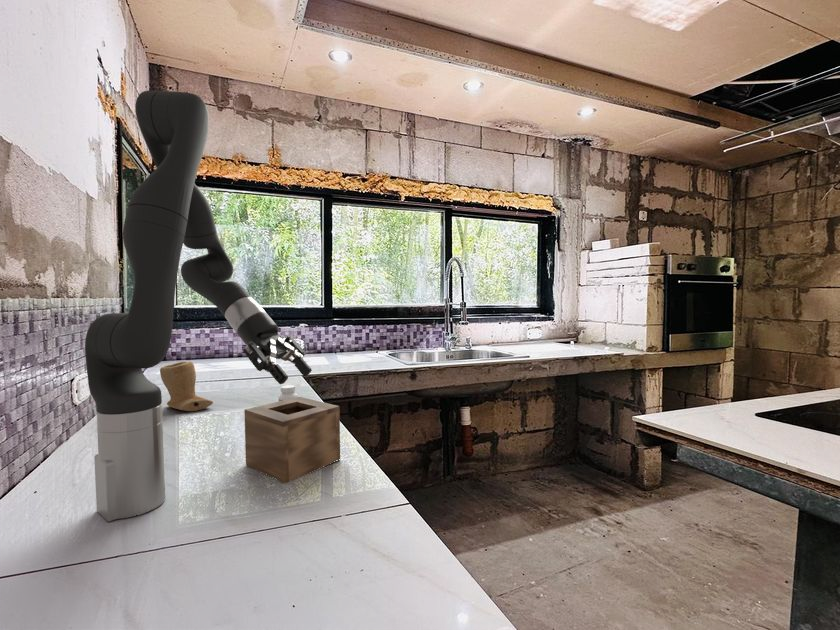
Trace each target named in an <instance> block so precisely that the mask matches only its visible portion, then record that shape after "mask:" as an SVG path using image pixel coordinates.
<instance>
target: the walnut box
mask: <svg viewBox="0 0 840 630" xmlns="http://www.w3.org/2000/svg"><path fill="white" fill-rule="evenodd" d="M243 410H244V442H245V444H244V446H245V447H244V448H245V451H244V452H245V466H246V465H247V466H246V467H248V468H251V469H253V470H255V471H257V472H260V473H261V472H262V473H261V474H263V473H264V475H266V474H267V475H266V476H268V475H269V476H268V477H270V476H271V478H272V477H274V478H276V479H277V481H278V480H279V481H278V482H281V483H283V484H286V483H289V482H291V481H293V479H294V480H296V479H298V477H299V478H301V477H303V475H304V476H306V475H308V473H309V474H311V473H313V472H315V471H314V470H316V471H318V470H320V469H319V468H321V467H323V466H326V465H328V464H330V463H332V462H334V461H336V460H339V459H340V460H341V425H340V424H341V422H340V420H341V419H340V418H341V417H340V416H341V415H340V413H341V412H340V405H336V404H332V403H327V402H325V401H319V400H315V399H311V398H306V397H303V396H298V397H297V398H292V399H288V400H284V401H279V400H278V401H276V402H272V403H267V404H263V405H258V406H255V407H249V408H245V409H243ZM328 466H329V465H328ZM326 467H327V466H326ZM323 468H324V467H323ZM317 469H318V470H317ZM321 469H322V468H321ZM312 471H313V472H312ZM310 472H311V473H310ZM274 478H273V479H274ZM295 478H296V479H295ZM276 479H275V480H276ZM290 480H291V481H290Z"/></svg>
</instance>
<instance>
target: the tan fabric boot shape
mask: <svg viewBox="0 0 840 630" xmlns="http://www.w3.org/2000/svg"><path fill="white" fill-rule="evenodd" d="M159 373H160V374H159V375H160V378H161V381H162V383H163V384H164V387H165V388H166V390H167V393H168V394H169V397H170V399H169V400H168V401H167V402H166V405H167V406H168V407H169V408H172V409H177V410H179V411H185V412H196V411H201V410H203V409H206V408H208V407H210V406H212V405H213V404H214V401H213V400H210V399H208V398H204V397H200V396H198V395H197V394H196V388H195V387H196V378H197V374H196V368H195V364H194V363H193V362H192V361H191V360H189V361H180V362H175V363H172V364H167V365H164V366H162V367H160V369H159Z"/></svg>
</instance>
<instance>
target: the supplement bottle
mask: <svg viewBox="0 0 840 630" xmlns="http://www.w3.org/2000/svg"><path fill="white" fill-rule="evenodd" d="M280 392H281V393H280V394H279V395H278V402H279V401H284V400H288V399H292V398H297V397H299V395H298V393H296V385H293V384H289V385H288V384H287V385H282V386H281V387H280Z"/></svg>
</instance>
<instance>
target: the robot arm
mask: <svg viewBox="0 0 840 630" xmlns="http://www.w3.org/2000/svg"><path fill="white" fill-rule="evenodd" d="M134 107H135V110H134V111H135V116H136V120H137V123H138V124H137V125H138V126H139V130H140V132H141V135H142V137H143V140H144V142H145V144H146V146H147V149H148V151H149V153H150V156H151V158H152V161H153V162H154V165H155V167H156V168H155V169H154V170H153V171H152V172H151V173H150V174H149V175H148V176H147V177H146V178H145V179H144V180H143V181H142V182H141V183H140V184H139V186H138V187H137V188H136V189H135V191H134V192H133V193H132V195H131V197H130V199H129V201H128V205H127V209H126V212H125V217H124V223H123V227H122V240H123V245H124V248H125V252H126V255H127V258H128V261H129V262H130V266H131V268H132V273H133V279H134V280H133V283H134V286H133V293H132V297H131V303H130V307H129V310H128V312H119V313H118V312H111V313H105V314H103V315H100V316H98V317H97V318H95V320H93V321H92V322H91V323H90V325H89V327H88V329H87V331H86V335H85V340H84V341H85V342H84V354H85V367H86V375H87V384H88V390H89V393H90V396H91V397H92V399H93V401H94V402H95V409H96V429H97V430H96V431H97V432H96V433H97V434H96V435H97V447H98V448H97V451H98V453H97V454H95V455H94V456H93V457H94V461H93V462H94V478H95V479H94V480H95V501H96V503H95V504H96V505H95V506H96V511H97V512H98V513H99V514H100V515H101V516H102V518H104V520H106V522H112V521H115V520H118V519H119V520H121V519H127V518H132V517H136V515H137V516H141V515H143V514H145V513H147V512H150V511H153V510H155V509H156V508H158V507H159V506H160V505H162V504H163V503H164V502H165V500H166V481H165V480H166V479H165V453H164V452H165V449H164V429H163V428H164V427H163V426H164V424H163V423H164V422H163V403H162V402H163V400H162V398H163V397H162V396H163V395H162V390H161V388H160V387H159V386H158V385H157V384H155V383H153V382H152V381H150V380H149V379H148V378H147V377H146V375H145V374H144V372H143V370H142V369H150V368H154V367H155V366H157V365H159V364H160V363H161V362H162V361H163V360H164V358H165V356H166V355H167V353H168V351H169V349H170V345H171V342H172V341H171V340H172V336H173V335H172V334H173V322H174V310H175V309H174V306H175V294H176V286H177V280H178V279H177V278H178V273H179V266H180V260H181V253H182V251H183V246H185V247H186V248H188V249H191V250H207V253H206V254H203V255H199V256H196V257H193V258H189V259H187V260H186V261H184V262H183V263H182V264H181V266H180V274H181V277H182V280H183V281H184V283H185V284H186V285H187V287H189V288H190V289H191V290H192V291H194V292H195V293H197V294H198V295H200V296H201V297H203V298H204V299H206V300H207V301H209V302H210V303H211V304H213V305H214V306H216V308H217V310H218V311H219V312H220V313H221V315H222V316H223V317H224V318H225V319H226V320H227V323H228V325H229V326H230V327H231V329H233V330H234V332H235V333H236V334H237V335H238V336H239V338H240V339H241V340H242V341H243V343H244V345H245V346H244V348H243V349H242V351H243V352H244V354H245V355H246V357H247V358H248V359H249V361H250V362H251V364H252V365H253V366H254V367H255V369H256V370H257V371H259V372H262V371H265V372H267V373H269V374H270V375H271V376H272V377H273V379H274V380H275V381H276V382H277V383H278V384H279V385H282V384H285V383H286V381H288V379H289V376H288V374H287V373H286V371H284V369H282V367H281V366H280V365H279V364H277V360H282V361H284V362H287V361H288V362H290V363H291V364H294V367H296V369H297V370H298V371H299V373H301V375H302V376H303V377H308V376H309V375H310V374H311V373H312V370H313V369H312V368H311V367H310V366H309V364H308V363H307V361H305V360H304V356H305V355H306V354H307V353H306V350H304V349H303V347H301V346H300V345H299V343H298V342H297V341H296V340H295V339H294V338H293V337H292V336H291V335H289V334H288V335H287V336H286V337H284V338H283V337H281V336H280V335H279V333H278V331H279V326H278V325H277V323H276V322H274V320H273V319H272V318H271V317H270V315H269V314H268V313H267V312H266V311H265V309H264V308H263V307H262V306H261V305H260V304H259V303H258V302H257V301H256V300H255V299H254V298H253V297H252V296H251V295H250V294H249V293H248V291H247V290H246V288H244V287H243V285H242V284H240V283H239V282H237V281H233V280H231V281H229V280H230V279H231V277H232V276H233V272H234V265H233V262H232V260H231V259H230V257H229V255H228V254H227V252H226V250H225V248H224V246H223V244H222V242H221V239H220V238H219V234H218V233H217V227H216V222H215V217H214V213H213V210H212V207H211V204H210V203H209V201H208V198H207V197H206V196H205V194H204V193H203V192H202V191H201V189H200V188H199V186H197V185H196V183H195V182H196V178H197V174H198V170H199V168H200V165H201V161H202V158H203V156H204V151H205V148H206V145H207V142H208V139H209V132H210V117H209V116H210V115H209V111H208V107H207V104H206V103H205V101H204V100H203V99H202V98H201V96H199V95H197V94H194V93H191V92H188V91H187V92H185V91H171V90H170V91H168V90H167V91H166V90H144V91H141V92H140V93H139V94H138V95H137V97H136V100H135V106H134ZM258 359H259V360H260V362H259V360H258Z"/></svg>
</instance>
